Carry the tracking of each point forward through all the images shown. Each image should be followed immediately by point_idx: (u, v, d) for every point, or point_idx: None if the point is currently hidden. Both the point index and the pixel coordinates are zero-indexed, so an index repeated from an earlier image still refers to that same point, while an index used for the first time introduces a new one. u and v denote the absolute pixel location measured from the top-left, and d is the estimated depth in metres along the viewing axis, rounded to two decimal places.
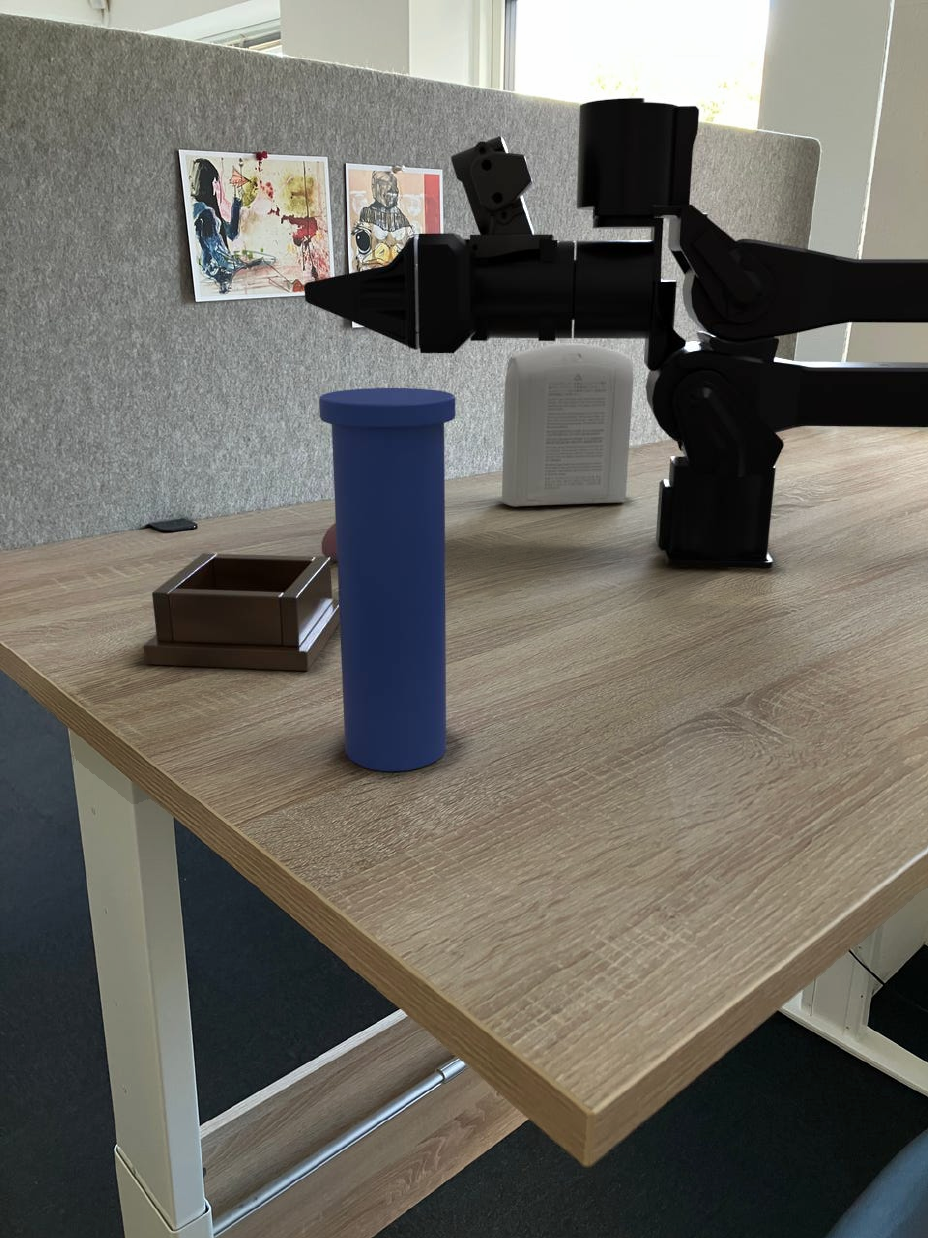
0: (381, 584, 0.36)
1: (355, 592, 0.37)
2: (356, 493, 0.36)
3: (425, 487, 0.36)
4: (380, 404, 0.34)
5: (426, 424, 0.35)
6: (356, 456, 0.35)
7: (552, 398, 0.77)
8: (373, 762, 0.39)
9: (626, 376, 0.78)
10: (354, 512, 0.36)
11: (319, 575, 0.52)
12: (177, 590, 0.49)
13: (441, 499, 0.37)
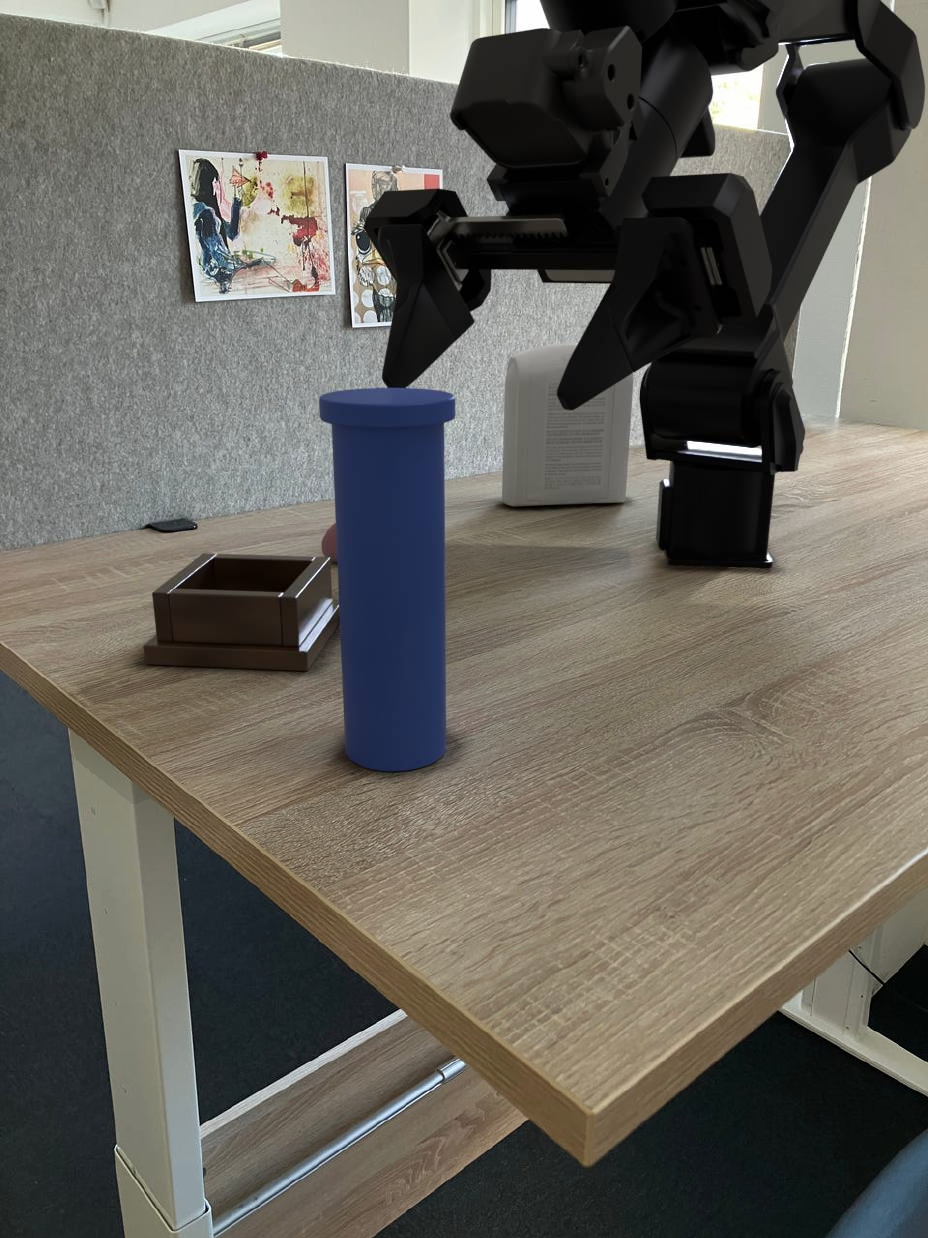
0: (381, 584, 0.36)
1: (355, 592, 0.37)
2: (356, 493, 0.36)
3: (425, 487, 0.36)
4: (380, 404, 0.34)
5: (426, 424, 0.35)
6: (356, 456, 0.35)
7: (552, 398, 0.77)
8: (373, 762, 0.39)
9: None
10: (354, 512, 0.36)
11: (319, 575, 0.52)
12: (177, 590, 0.49)
13: (441, 499, 0.37)
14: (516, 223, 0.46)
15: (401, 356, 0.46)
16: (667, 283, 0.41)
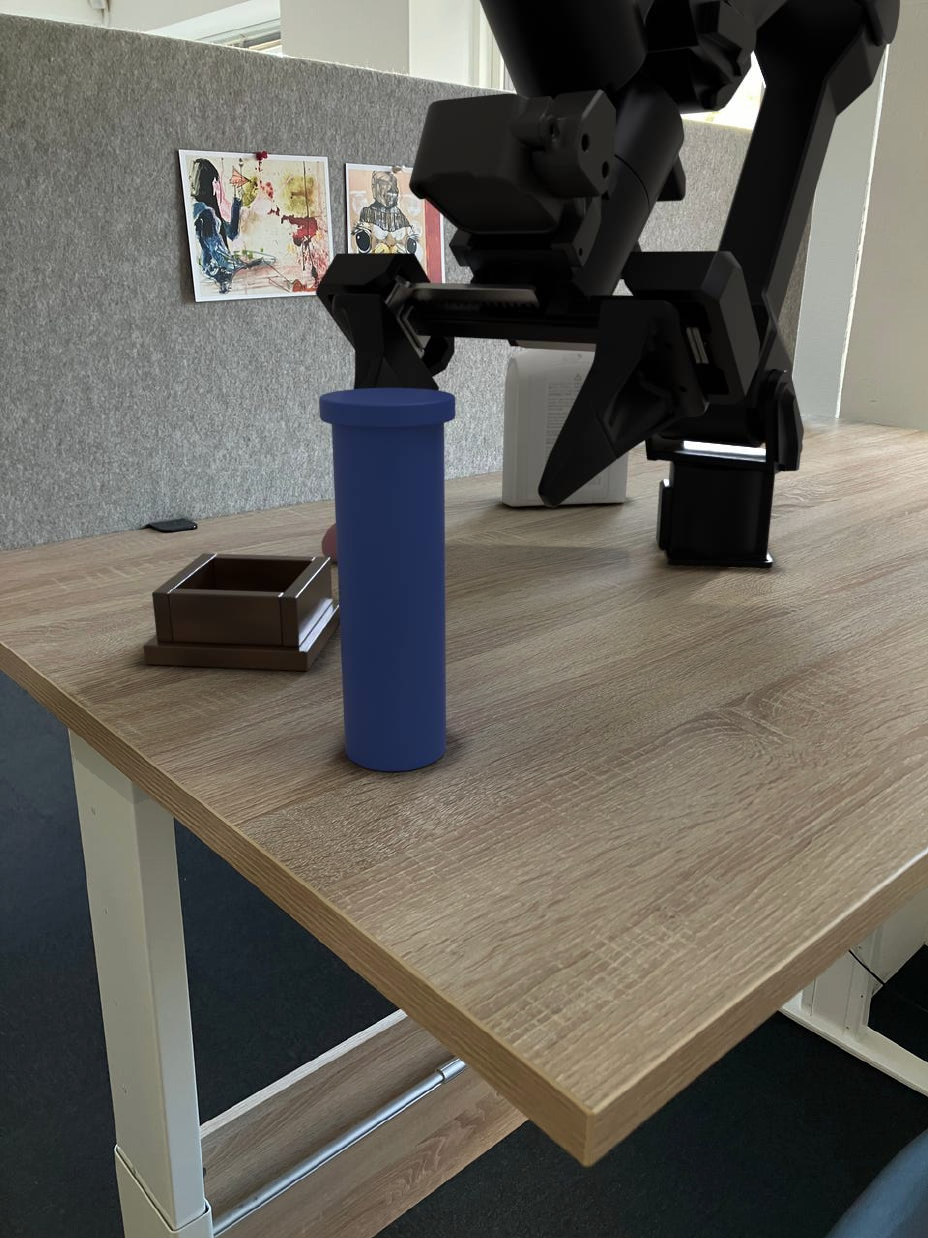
0: (381, 584, 0.36)
1: (355, 592, 0.37)
2: (356, 493, 0.36)
3: (425, 487, 0.36)
4: (380, 404, 0.34)
5: (426, 424, 0.35)
6: (356, 456, 0.35)
7: (552, 398, 0.77)
8: (373, 762, 0.39)
9: None
10: (354, 512, 0.36)
11: (319, 575, 0.52)
12: (177, 590, 0.49)
13: (441, 499, 0.37)
14: (482, 292, 0.42)
15: None
16: (650, 364, 0.39)
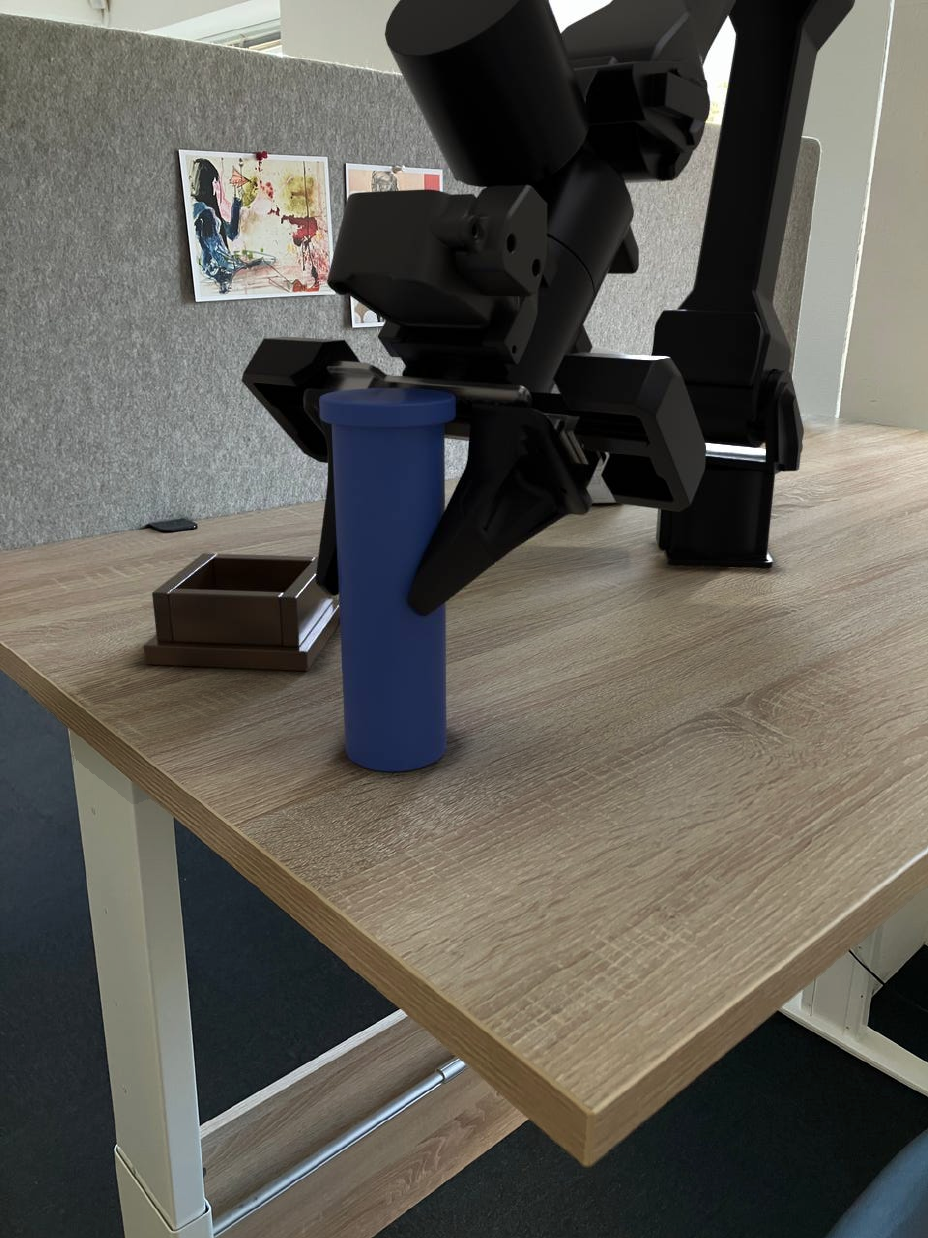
0: (382, 584, 0.36)
1: (355, 592, 0.37)
2: (356, 493, 0.36)
3: (425, 487, 0.36)
4: (380, 404, 0.34)
5: (426, 424, 0.35)
6: (356, 456, 0.35)
7: None
8: (373, 763, 0.39)
9: None
10: (354, 513, 0.36)
11: None
12: (177, 590, 0.49)
13: (441, 499, 0.37)
14: (467, 390, 0.38)
15: None
16: (527, 466, 0.37)
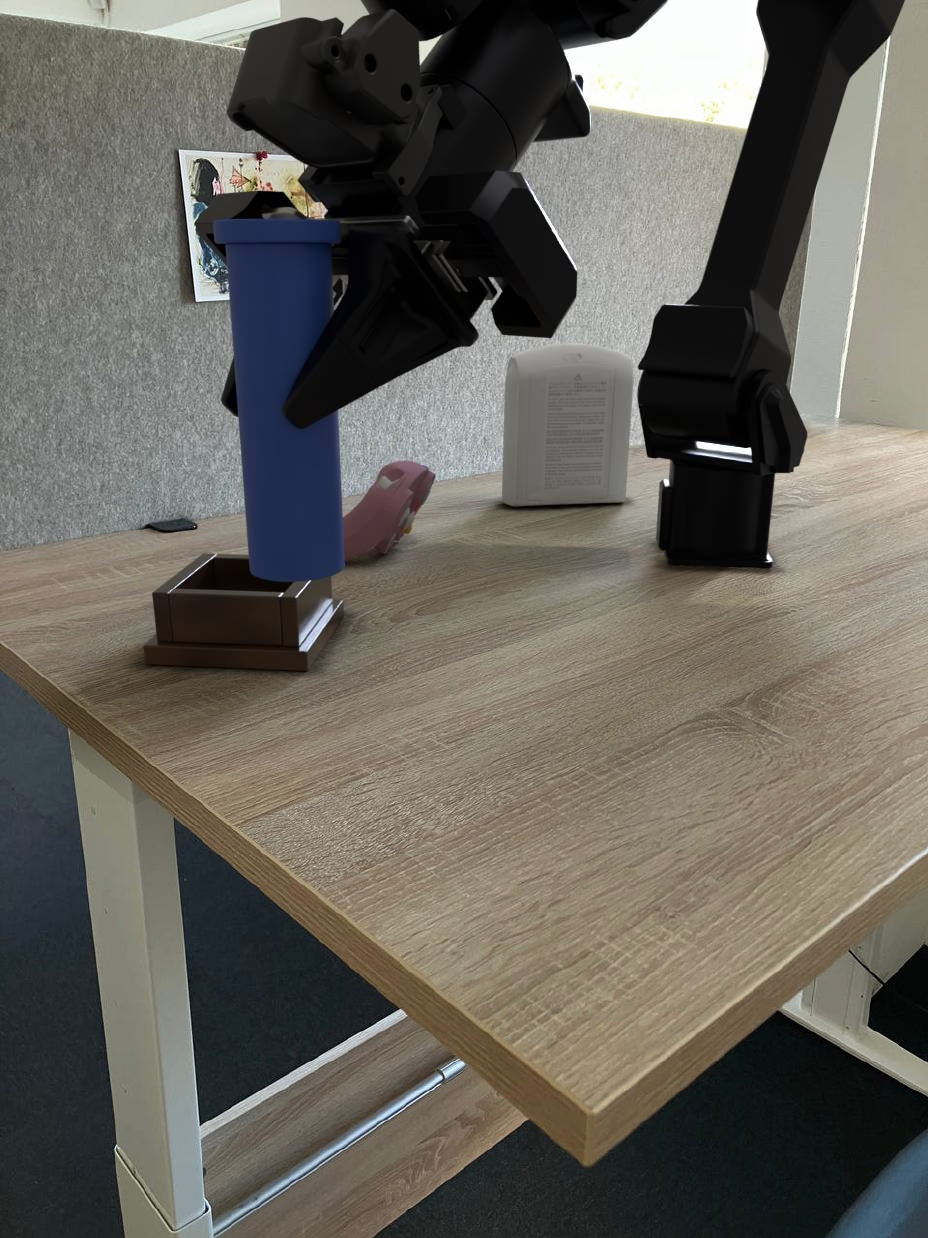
0: (263, 396, 0.39)
1: (244, 406, 0.40)
2: (240, 308, 0.39)
3: (301, 304, 0.38)
4: (252, 219, 0.37)
5: (296, 240, 0.37)
6: (238, 272, 0.38)
7: (552, 398, 0.77)
8: (264, 572, 0.42)
9: (627, 376, 0.78)
10: (239, 328, 0.39)
11: None
12: (177, 590, 0.49)
13: (322, 319, 0.39)
14: (366, 225, 0.41)
15: None
16: (408, 292, 0.39)
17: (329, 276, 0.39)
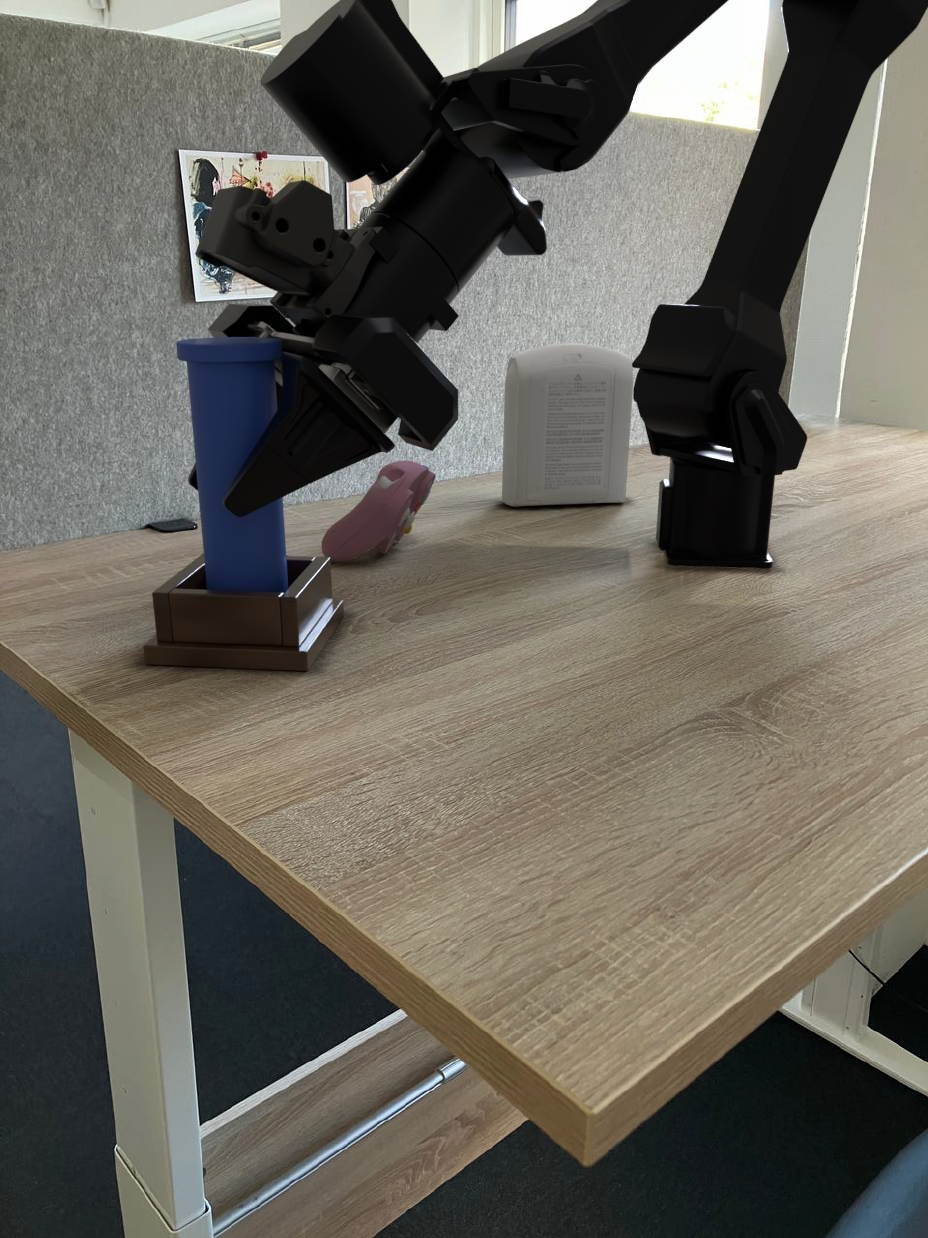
0: (209, 483, 0.48)
1: (199, 488, 0.49)
2: (193, 412, 0.48)
3: (237, 410, 0.47)
4: (195, 344, 0.46)
5: (229, 361, 0.46)
6: (191, 383, 0.47)
7: (552, 398, 0.77)
8: None
9: (626, 376, 0.78)
10: (193, 427, 0.48)
11: (319, 575, 0.52)
12: (177, 590, 0.49)
13: (258, 422, 0.47)
14: (303, 343, 0.49)
15: None
16: (332, 406, 0.46)
17: (267, 386, 0.47)
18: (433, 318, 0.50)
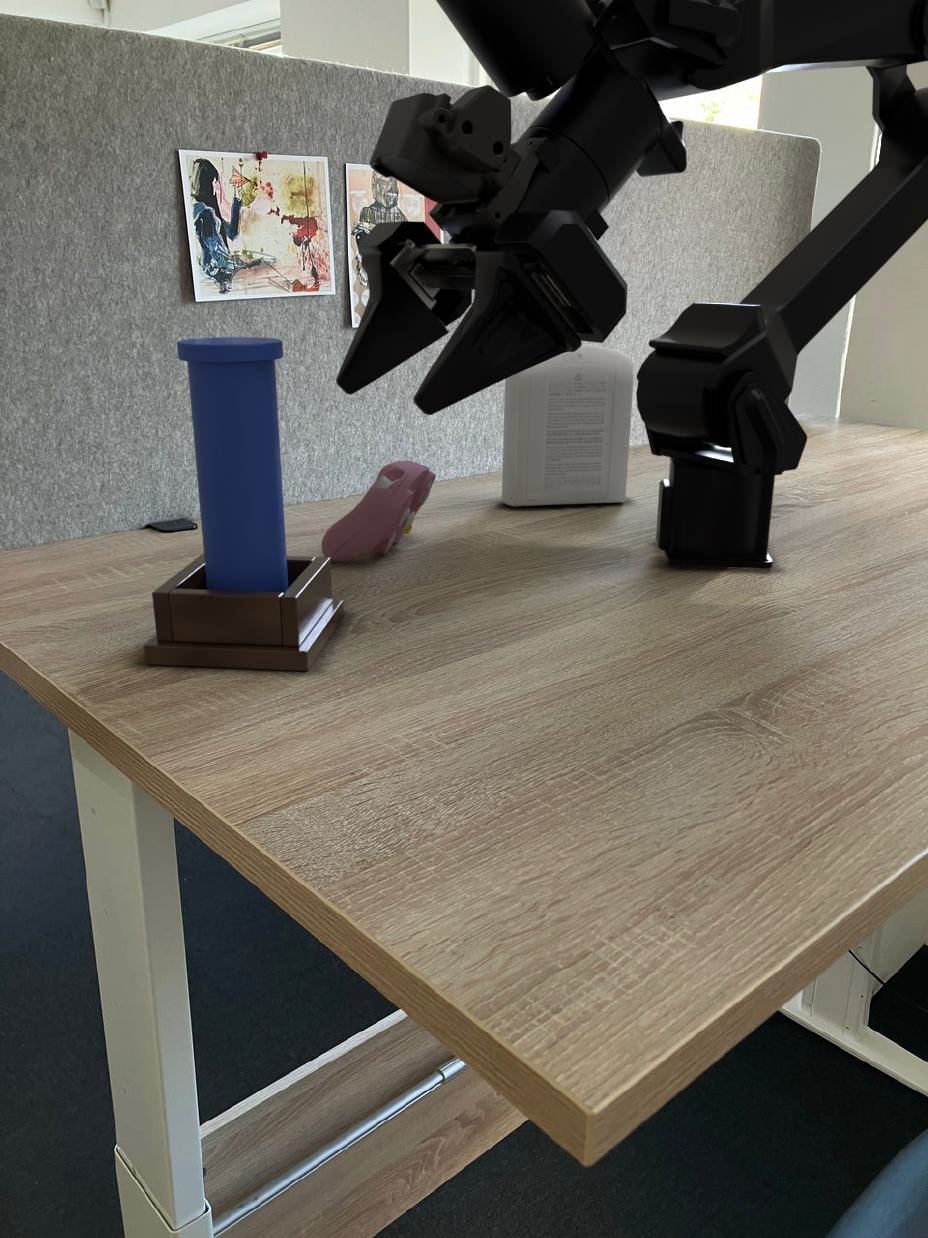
0: (209, 483, 0.48)
1: (199, 488, 0.49)
2: (194, 412, 0.48)
3: (238, 410, 0.47)
4: (196, 344, 0.46)
5: (230, 361, 0.46)
6: (192, 383, 0.47)
7: (552, 398, 0.77)
8: None
9: (627, 376, 0.78)
10: (194, 427, 0.48)
11: (319, 575, 0.52)
12: (177, 590, 0.49)
13: (259, 422, 0.47)
14: (449, 250, 0.53)
15: (353, 364, 0.56)
16: (523, 305, 0.47)
17: (267, 386, 0.47)
18: None
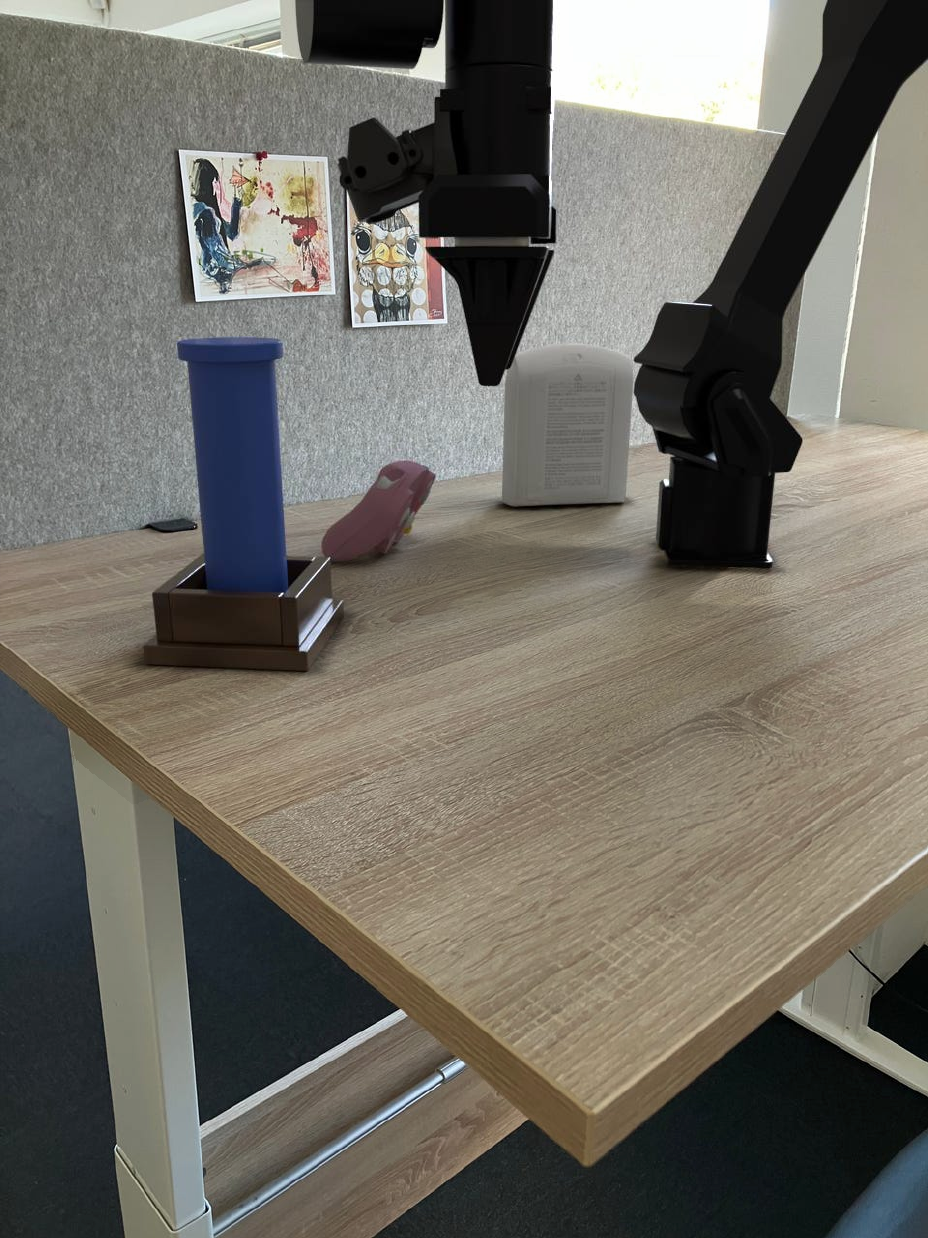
0: (209, 483, 0.48)
1: (199, 488, 0.49)
2: (194, 412, 0.48)
3: (238, 410, 0.47)
4: (196, 344, 0.46)
5: (230, 361, 0.46)
6: (192, 383, 0.47)
7: (552, 398, 0.77)
8: None
9: (626, 376, 0.78)
10: (194, 427, 0.48)
11: (319, 575, 0.52)
12: (177, 590, 0.49)
13: (259, 422, 0.47)
14: None
15: None
16: None
17: (267, 386, 0.47)
18: (534, 109, 0.52)
